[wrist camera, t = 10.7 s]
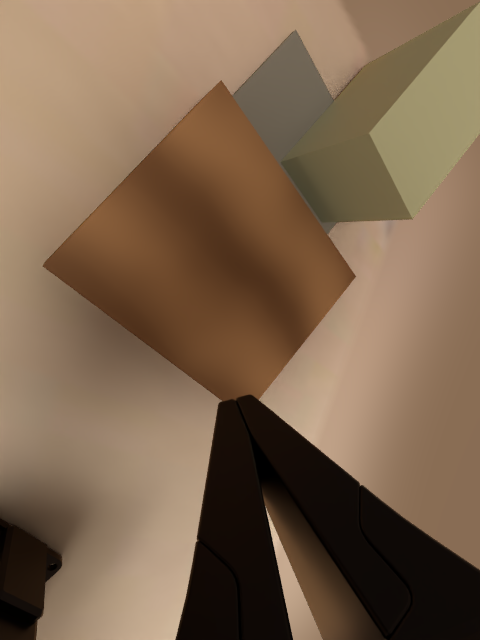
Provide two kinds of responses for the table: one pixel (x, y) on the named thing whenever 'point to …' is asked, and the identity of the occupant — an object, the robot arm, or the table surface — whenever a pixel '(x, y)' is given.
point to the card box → (394, 128)
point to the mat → (285, 101)
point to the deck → (209, 254)
